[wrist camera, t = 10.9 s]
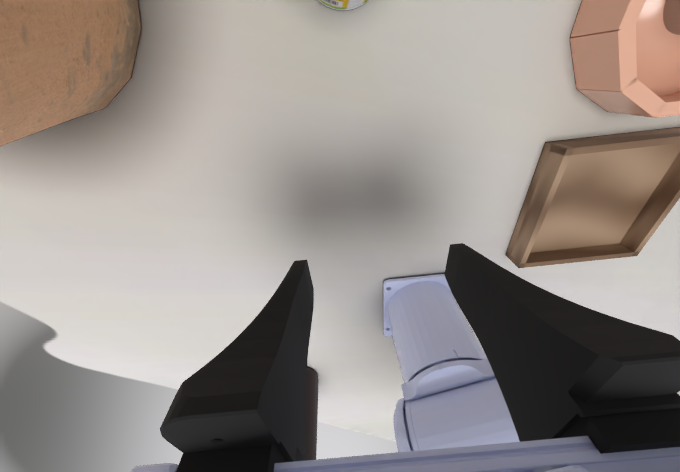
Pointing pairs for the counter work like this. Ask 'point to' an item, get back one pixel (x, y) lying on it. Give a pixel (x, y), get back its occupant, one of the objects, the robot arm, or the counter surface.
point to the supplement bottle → (343, 4)
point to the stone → (672, 16)
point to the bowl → (627, 57)
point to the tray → (597, 198)
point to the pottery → (62, 60)
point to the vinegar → (311, 414)
